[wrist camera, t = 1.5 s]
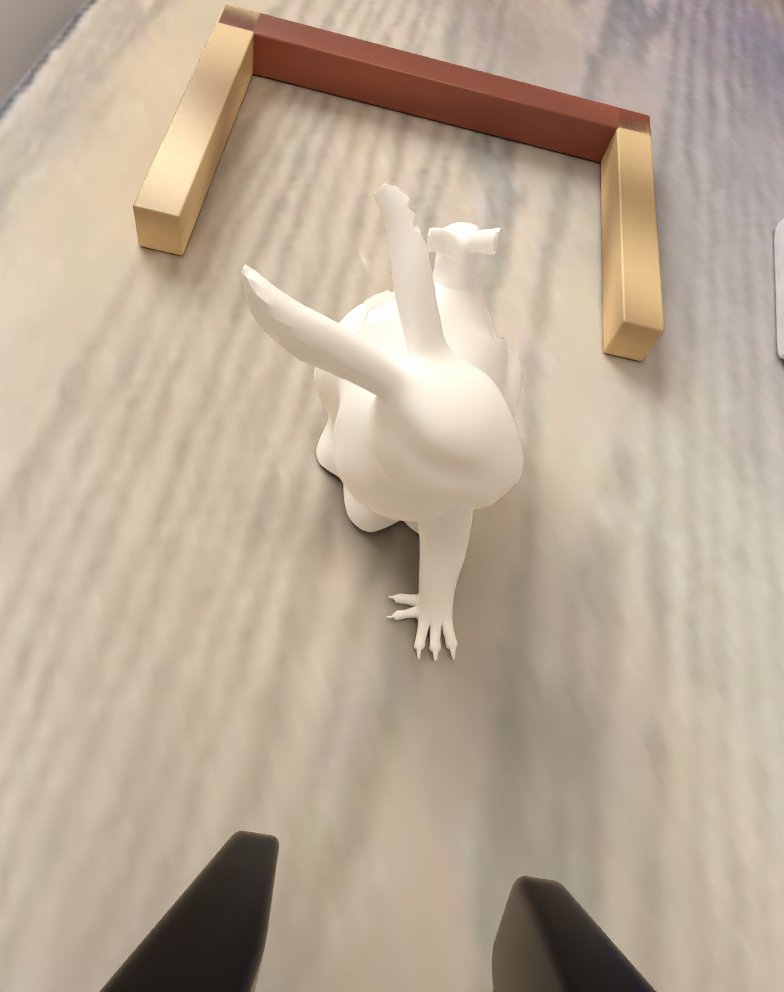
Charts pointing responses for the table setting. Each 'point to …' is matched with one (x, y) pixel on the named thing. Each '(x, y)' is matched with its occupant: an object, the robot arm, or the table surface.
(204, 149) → the bay
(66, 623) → the table surface
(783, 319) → the hard drive
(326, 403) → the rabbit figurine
